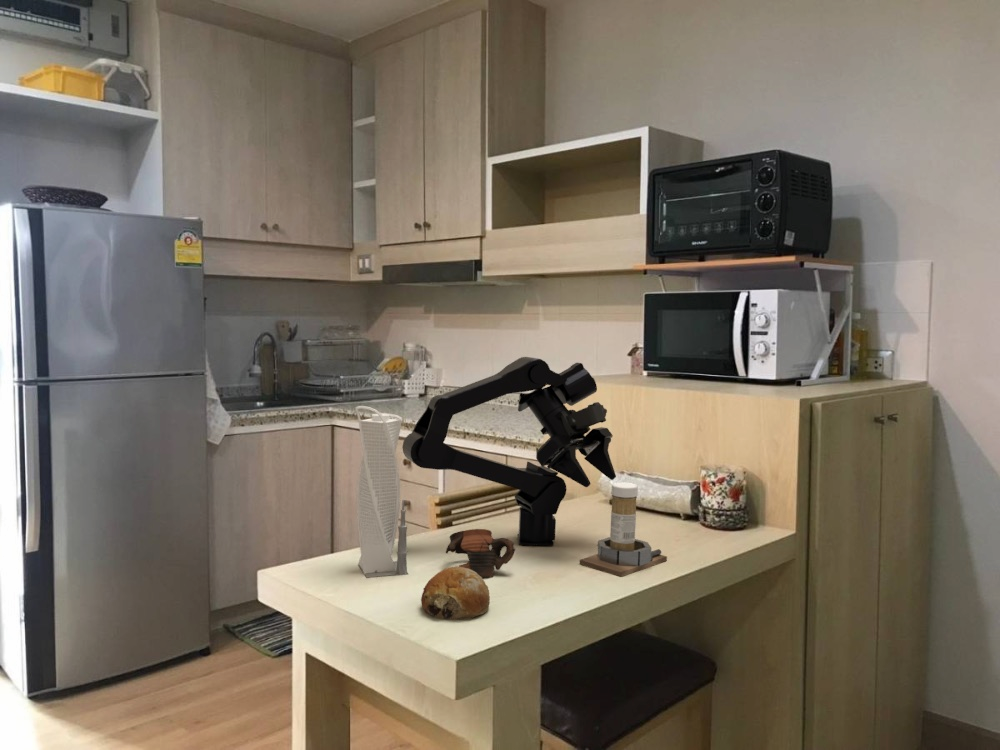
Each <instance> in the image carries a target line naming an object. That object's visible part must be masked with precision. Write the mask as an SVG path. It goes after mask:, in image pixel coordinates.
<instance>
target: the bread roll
mask: <svg viewBox="0 0 1000 750" xmlns="http://www.w3.org/2000/svg"><path fill="white" fill-rule="evenodd" d="M490 598H491V597H490V590H489V586H488V585H487V584H486V581H485V580H484V579H483V577H480V576H479V575H478V574H477V573H476V572H474V571H473V570H471V569H468V568H464V567H459V565H455V566H449V567H447V568H444V569H442V570H441V571H439V572H437V573H436V574H434V576H432V577H431V578H430V579H429V580H428V581H427V583H426V584H425V586H424V588H423V592H422V593H421V599H420V602H421V606H422V608H423V610H424V612H426V613H427V614H429V615H430V616H432V617H434V618H437V619H444V620H467V619H468V620H469V619H470V620H471V619H474V618H475V617H478V616H481V615H483V614H485V613H486V612H487V610H489V608H490V603H491V602H490V600H491V599H490Z"/></svg>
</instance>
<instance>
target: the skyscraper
mask: <svg viewBox="0 0 1000 750" xmlns="http://www.w3.org/2000/svg"><path fill="white" fill-rule="evenodd" d="M354 409H355V412H356V416H357V420H358V428H359V434H360V435H359V436H360V441H361V449H362V457H361V461H360V467H359V472H358V480H357V490H356V493H357V494H356V511H357V513H356V516H357V528H358V539H359V546H360V547H359V548H360V549H359V550H360V558H359V561H358V563H357V566H358V568H359V569H360V570H361V572H362V573H363V575H364V577H365V578H366V579H371V578H383V577H394V576H403V575H404V576H407V575H409V572H408V567H407V566H408V565H407V555H408V551H407V549H408V547H407V541H408V540H407V530H408V525H406V509H405V499H402V502H401V478H400V477H401V475H400V469H399V463H398V458H397V454H396V452H397V447H398V442H399V437H400V433H401V428H402V422H403V418H402V417H401V416H400V415H397V414H394V413H388V412H380V411H379V410H377V409H375V408H373V407H370V406H367V405H358V406H356V407H355V408H354ZM360 410H368V411H372V412H373V413H374V414H373V413H372V414H371V418H367V419H361V415H360V412H359V411H360ZM390 417H391V418H390ZM395 418H396V419H395ZM401 503H402V507H401ZM401 508H402V509H401ZM400 509H401V510H400ZM399 520H400V524H399ZM397 531H398V539H397V540H398V541H397V551H396V556H397V559H396V561H395V560H393V557H392V555H393V554H392V553H393V549H394V545H395V541H396V537H397Z"/></svg>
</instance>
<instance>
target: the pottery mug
mask: <svg viewBox="0 0 1000 750" xmlns="http://www.w3.org/2000/svg"><path fill="white" fill-rule="evenodd" d="M449 540H450V542H449V544H448V545H447V547H446V550H445V554H448V553H449V552H451V553H455V554H456V555H457V554H458V555H461V554H464V555H467V558H468V562H466V563H463V564H459V565H458V566H459V567H464V568H468V569H471V570H473V571H474V572H476V573H477V574H478V575H479V576H480V577H481V578H485V577H486V578H493V577H494V570H497V571H499V570H500V569H501V568H502V566H503V565H506V564H508V563H509V562H510V561H511V560H512V558H513V556H514V554H515V551H516V549H515V547H514V543H513V541H512V540H511V539H509V538H508V537H500V538H493V535H492V531H491V530H489V529H486V528H472V529H465V530H460V531H456V532H454V533H452V534H450V535H449ZM490 545H491V548H490ZM503 548H505V549H506V550H505V552H504V554H503V555H502V556H501V553H502V552H501V551H502V550H503Z"/></svg>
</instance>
